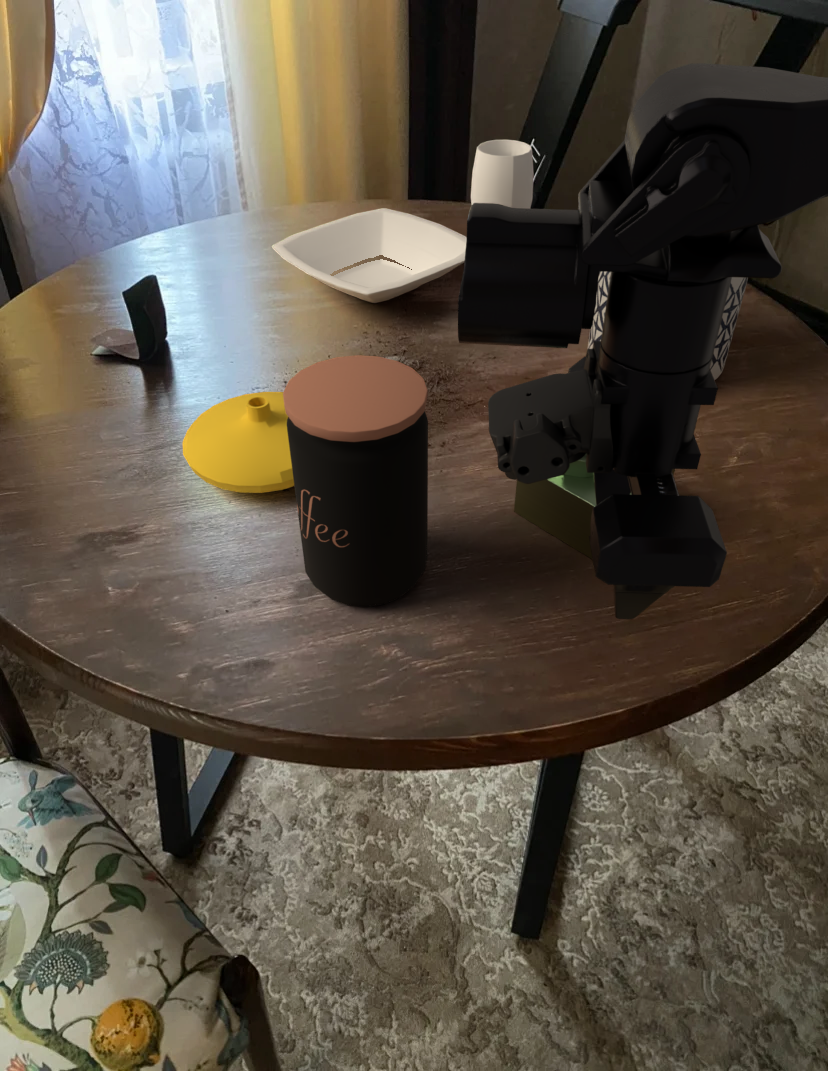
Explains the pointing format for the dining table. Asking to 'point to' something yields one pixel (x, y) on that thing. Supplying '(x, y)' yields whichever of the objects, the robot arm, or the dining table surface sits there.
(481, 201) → the cup
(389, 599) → the coffee jar
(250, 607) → the dining table surface
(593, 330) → the planter
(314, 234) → the bowl
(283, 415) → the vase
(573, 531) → the push button box
